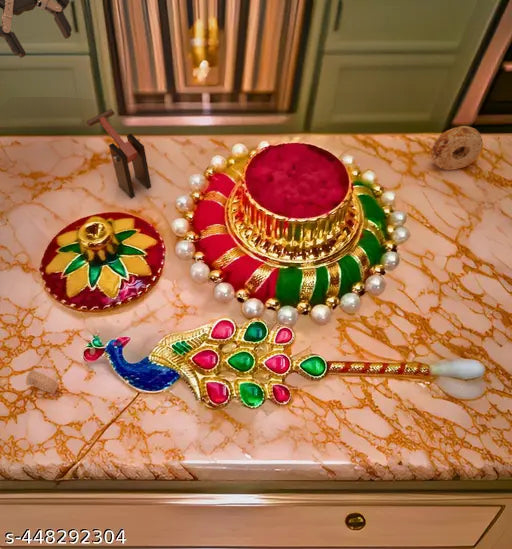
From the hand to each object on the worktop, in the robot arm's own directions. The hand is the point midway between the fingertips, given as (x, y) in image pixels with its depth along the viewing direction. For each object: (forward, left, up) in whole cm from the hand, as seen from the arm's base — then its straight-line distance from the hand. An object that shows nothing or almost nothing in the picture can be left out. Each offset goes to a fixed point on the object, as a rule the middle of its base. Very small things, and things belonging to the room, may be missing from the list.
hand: (46, 46), depth 97 cm
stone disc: (+69, +39, -30) cm, 84 cm away
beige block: (+24, -43, -30) cm, 58 cm away
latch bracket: (+13, 0, -29) cm, 32 cm away
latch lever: (+9, +1, -19) cm, 21 cm away
